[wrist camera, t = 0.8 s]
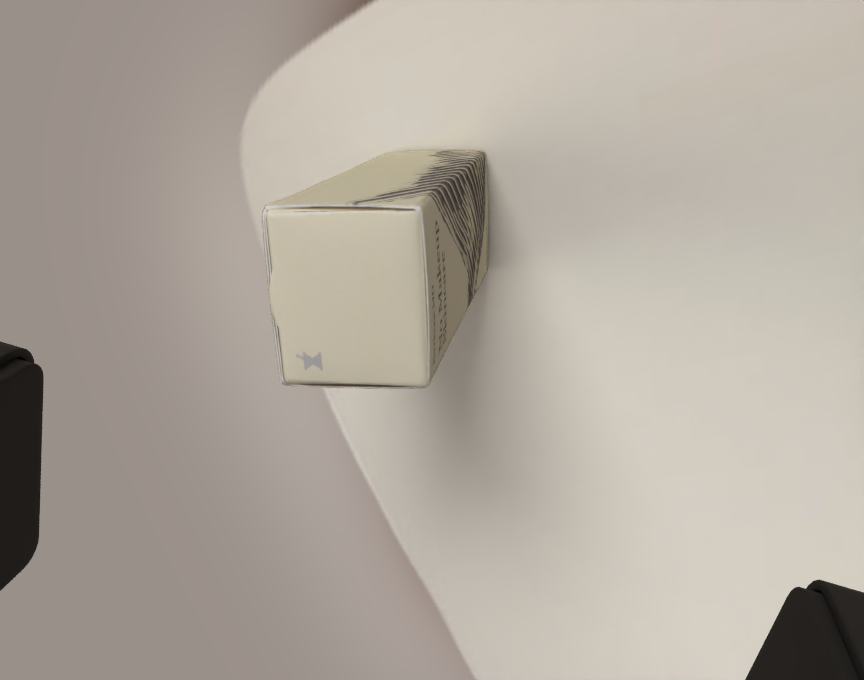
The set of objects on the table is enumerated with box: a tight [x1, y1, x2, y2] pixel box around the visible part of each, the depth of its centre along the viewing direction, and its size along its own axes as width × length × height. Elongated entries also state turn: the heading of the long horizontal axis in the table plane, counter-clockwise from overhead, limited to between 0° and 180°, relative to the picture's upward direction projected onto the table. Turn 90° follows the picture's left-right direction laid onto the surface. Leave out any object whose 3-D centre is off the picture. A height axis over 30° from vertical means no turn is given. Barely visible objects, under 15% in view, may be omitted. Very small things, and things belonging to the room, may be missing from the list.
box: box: [262, 150, 488, 389], centre depth 26 cm, size 5×4×13 cm
